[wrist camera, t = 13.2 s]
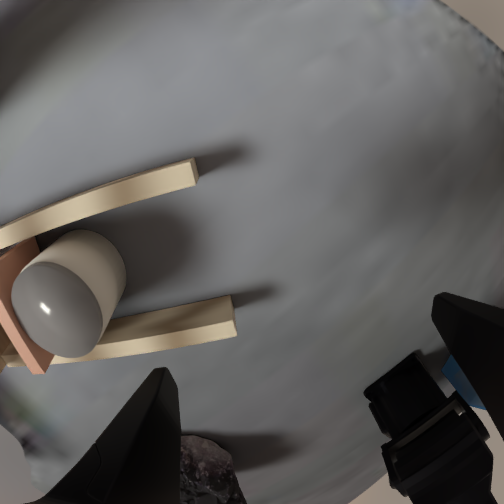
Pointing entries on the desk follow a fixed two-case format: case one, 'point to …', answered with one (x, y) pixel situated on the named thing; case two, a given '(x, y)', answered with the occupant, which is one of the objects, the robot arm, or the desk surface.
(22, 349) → the pusher
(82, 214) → the lane
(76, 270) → the jar
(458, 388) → the perfume bottle
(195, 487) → the dark rock
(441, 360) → the desk surface
